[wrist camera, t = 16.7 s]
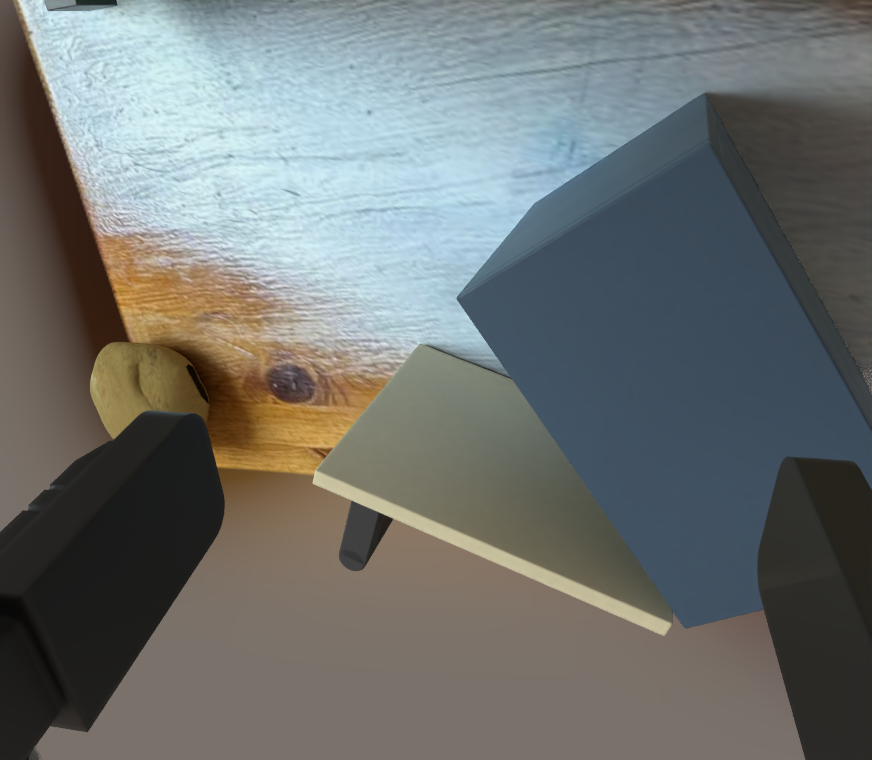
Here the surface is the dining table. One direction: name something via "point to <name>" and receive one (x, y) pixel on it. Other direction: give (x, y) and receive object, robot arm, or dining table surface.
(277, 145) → the dining table surface
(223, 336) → the dining table surface
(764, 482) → the cupboard
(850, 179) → the dining table surface
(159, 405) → the potato
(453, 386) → the cupboard door
